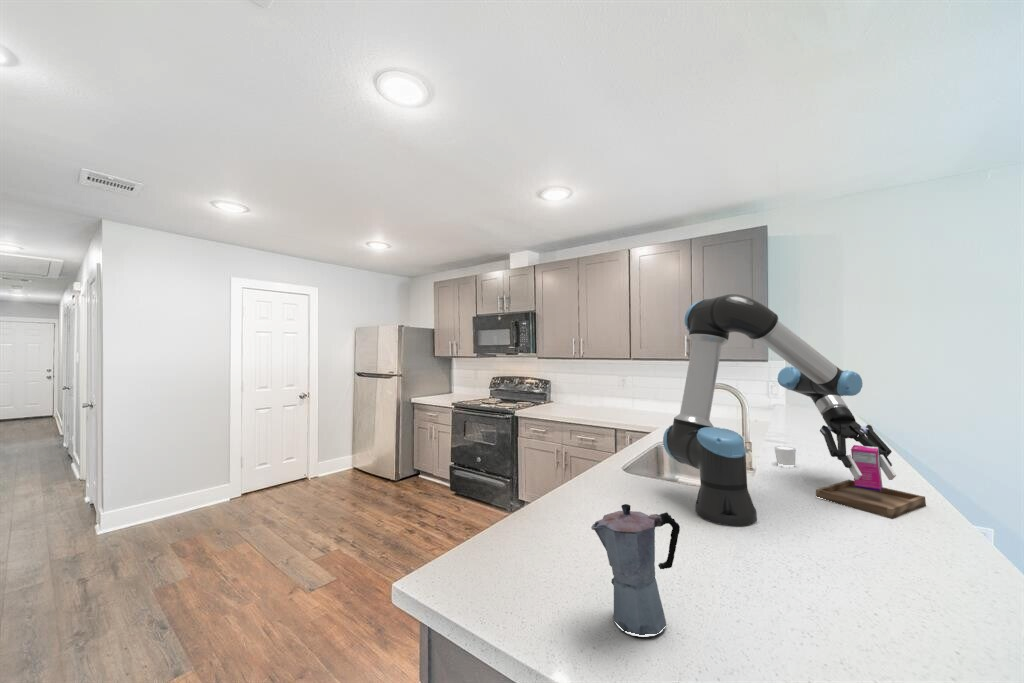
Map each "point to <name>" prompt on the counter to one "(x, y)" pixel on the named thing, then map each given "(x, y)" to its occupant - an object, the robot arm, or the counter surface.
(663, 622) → the moka pot
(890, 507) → the walnut tray
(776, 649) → the counter surface
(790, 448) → the shot glass
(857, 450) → the supplement box
